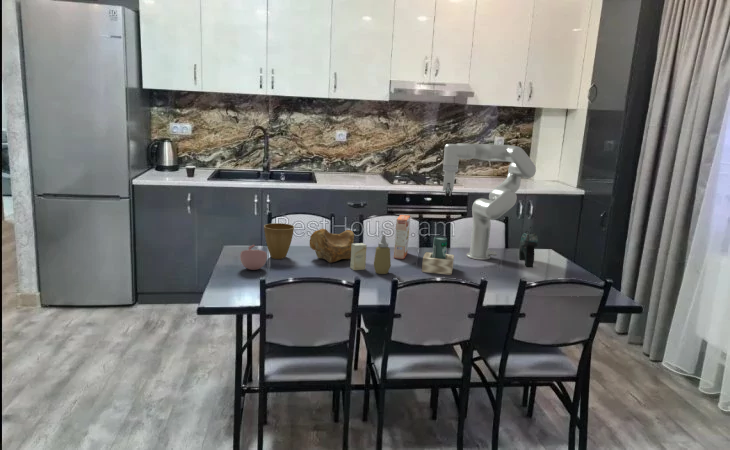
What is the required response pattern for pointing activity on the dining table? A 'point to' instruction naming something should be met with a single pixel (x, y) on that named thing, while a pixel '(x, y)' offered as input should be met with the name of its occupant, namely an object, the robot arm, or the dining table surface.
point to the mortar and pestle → (253, 258)
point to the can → (439, 247)
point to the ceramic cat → (528, 248)
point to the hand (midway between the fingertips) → (447, 202)
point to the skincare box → (358, 256)
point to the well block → (437, 264)
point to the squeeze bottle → (382, 257)
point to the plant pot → (278, 239)
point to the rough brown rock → (332, 245)
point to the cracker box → (402, 236)
